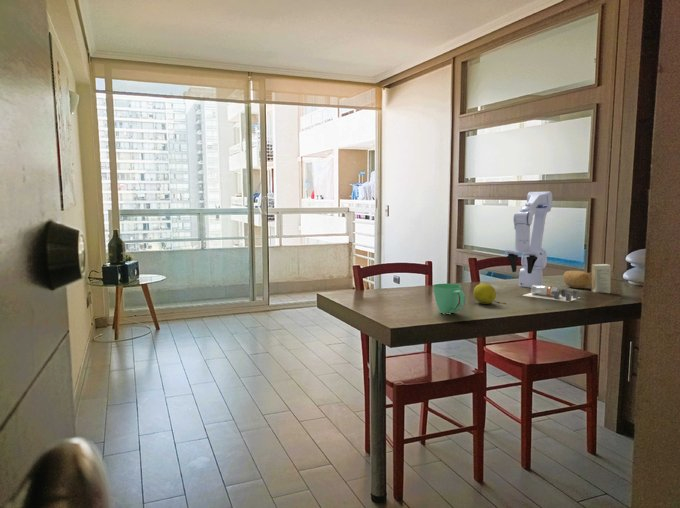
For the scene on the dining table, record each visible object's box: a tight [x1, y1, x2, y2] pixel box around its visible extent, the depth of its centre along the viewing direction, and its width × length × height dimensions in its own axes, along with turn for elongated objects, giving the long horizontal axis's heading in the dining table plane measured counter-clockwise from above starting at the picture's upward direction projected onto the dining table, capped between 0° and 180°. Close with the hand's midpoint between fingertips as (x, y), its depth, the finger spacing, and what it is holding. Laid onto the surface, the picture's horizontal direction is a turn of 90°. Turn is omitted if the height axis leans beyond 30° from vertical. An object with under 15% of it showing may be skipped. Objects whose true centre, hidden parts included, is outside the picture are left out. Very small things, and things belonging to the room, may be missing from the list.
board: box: [522, 292, 581, 303], centre depth 203 cm, size 19×11×1 cm, turn 43°
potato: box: [562, 270, 592, 290], centre depth 223 cm, size 10×14×8 cm
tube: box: [530, 285, 560, 297], centre depth 205 cm, size 10×4×4 cm, turn 43°
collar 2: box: [565, 289, 579, 302], centre depth 197 cm, size 1×8×3 cm, turn 133°
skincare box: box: [591, 263, 612, 294], centre depth 211 cm, size 6×4×12 cm
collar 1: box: [554, 288, 568, 299], centre depth 200 cm, size 1×8×3 cm, turn 133°
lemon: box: [473, 282, 497, 305], centre depth 196 cm, size 11×8×8 cm
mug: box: [432, 283, 466, 314], centre depth 178 cm, size 15×10×10 cm
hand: (521, 272), depth 211 cm, fingers open, 6 cm apart
